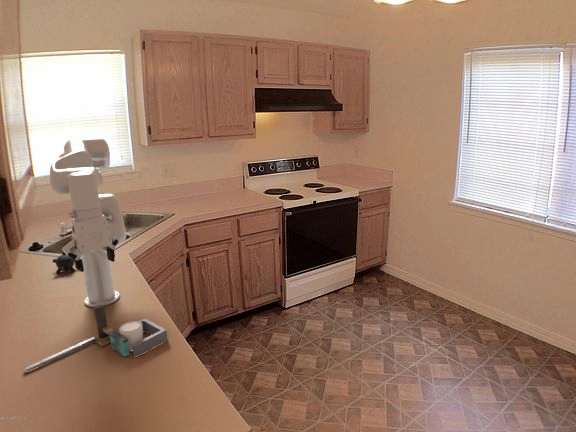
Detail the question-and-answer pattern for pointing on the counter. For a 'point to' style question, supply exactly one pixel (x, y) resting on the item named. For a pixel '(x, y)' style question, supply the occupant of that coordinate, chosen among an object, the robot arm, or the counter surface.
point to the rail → (60, 354)
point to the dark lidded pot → (64, 263)
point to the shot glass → (132, 332)
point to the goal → (148, 343)
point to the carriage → (109, 333)
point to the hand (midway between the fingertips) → (96, 265)
